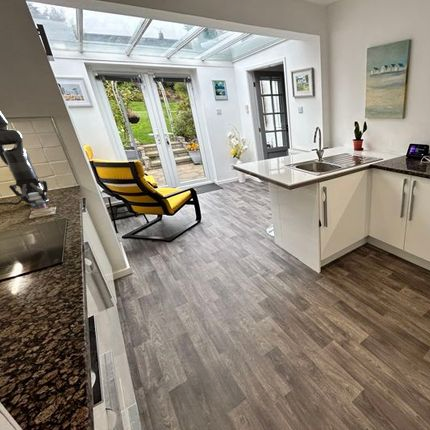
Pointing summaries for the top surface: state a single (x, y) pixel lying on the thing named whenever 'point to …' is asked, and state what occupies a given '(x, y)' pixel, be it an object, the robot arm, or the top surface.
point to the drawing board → (42, 213)
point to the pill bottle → (36, 201)
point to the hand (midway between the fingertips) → (36, 201)
